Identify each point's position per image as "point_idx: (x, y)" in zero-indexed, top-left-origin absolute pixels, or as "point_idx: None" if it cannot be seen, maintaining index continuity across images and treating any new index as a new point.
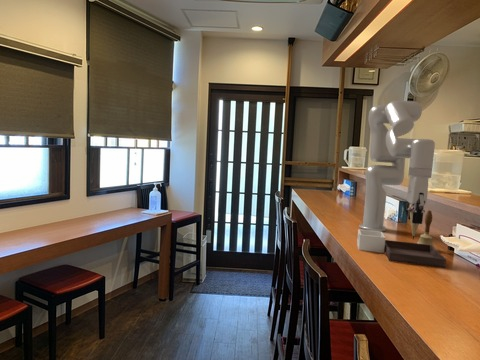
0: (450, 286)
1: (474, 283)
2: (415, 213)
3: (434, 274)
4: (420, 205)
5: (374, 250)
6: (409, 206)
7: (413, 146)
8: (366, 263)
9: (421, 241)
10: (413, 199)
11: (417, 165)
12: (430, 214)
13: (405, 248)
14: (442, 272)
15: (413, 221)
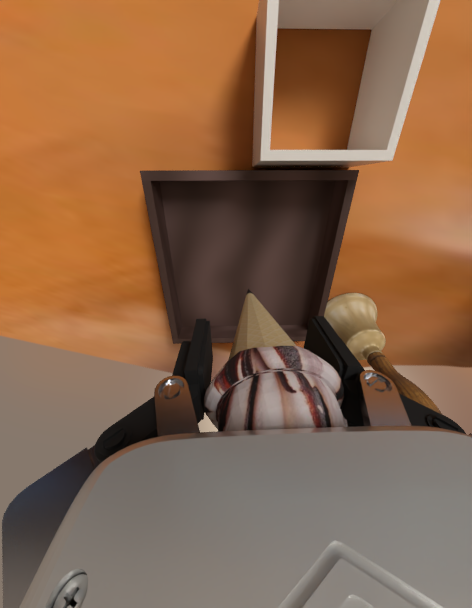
0: (33, 307)
1: (100, 356)
2: (187, 376)
3: (103, 293)
4: (21, 492)
5: (254, 117)
6: (291, 386)
7: None
8: (46, 42)
9: (348, 322)
10: (45, 555)
11: None
12: None
13: (319, 262)
14: (135, 315)
15: (195, 327)
